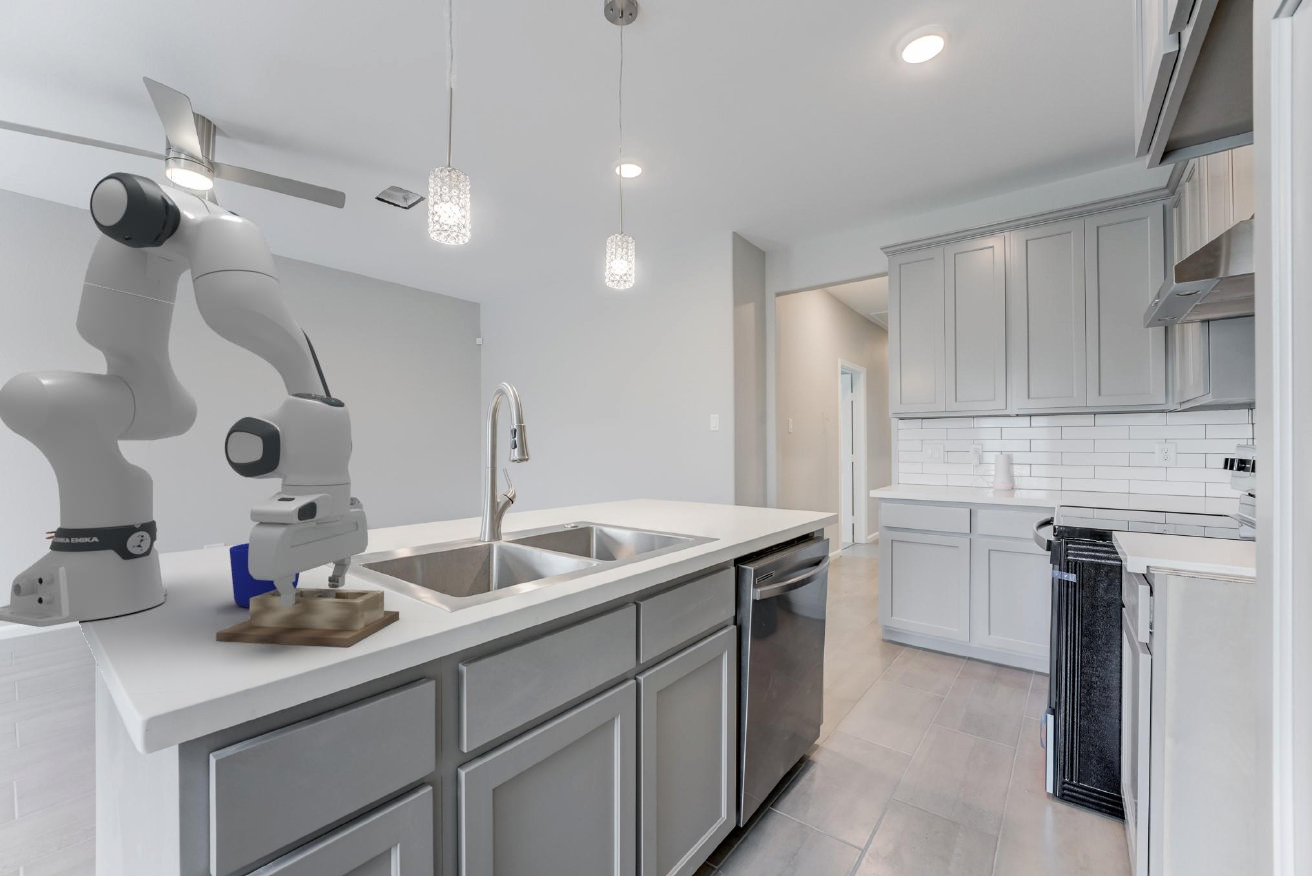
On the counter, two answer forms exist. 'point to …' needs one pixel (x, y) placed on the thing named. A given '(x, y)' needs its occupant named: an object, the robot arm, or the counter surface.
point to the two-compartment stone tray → (319, 610)
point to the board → (303, 632)
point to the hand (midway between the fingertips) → (314, 595)
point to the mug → (247, 577)
